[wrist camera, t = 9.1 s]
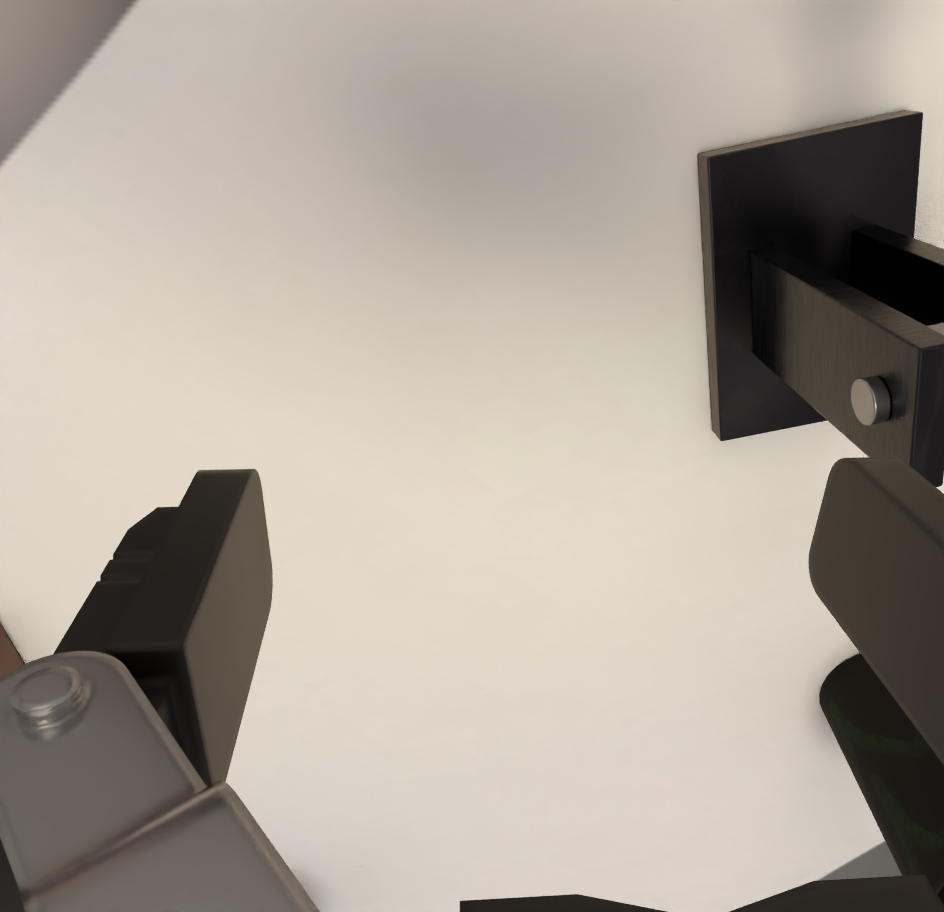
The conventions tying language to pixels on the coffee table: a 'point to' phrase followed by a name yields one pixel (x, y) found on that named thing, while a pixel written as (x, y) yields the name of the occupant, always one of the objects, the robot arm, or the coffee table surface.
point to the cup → (890, 767)
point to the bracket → (825, 289)
